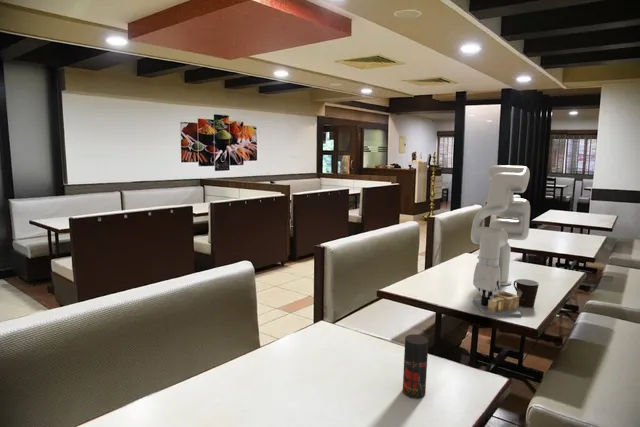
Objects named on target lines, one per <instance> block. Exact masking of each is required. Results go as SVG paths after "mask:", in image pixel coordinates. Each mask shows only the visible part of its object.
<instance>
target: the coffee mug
mask: <svg viewBox="0 0 640 427" xmlns="http://www.w3.org/2000/svg"><path fill="white" fill-rule="evenodd" d="M539 286H540V283H539V282H538V281H535V280H533V279H528V278H527V279H526V278H519V279H516V280H514V281H513V288H514V290H515V291H516V295H517V296H519V307H522V308H528V309H529V308H534V307H535V302H536V298H537V293H538V289H539Z"/></svg>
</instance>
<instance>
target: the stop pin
mask: <svg viewBox="0 0 640 427" xmlns="http://www.w3.org/2000/svg"><path fill="white" fill-rule="evenodd" d="M500 311H501V302H498V308H497V312H500Z"/></svg>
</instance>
